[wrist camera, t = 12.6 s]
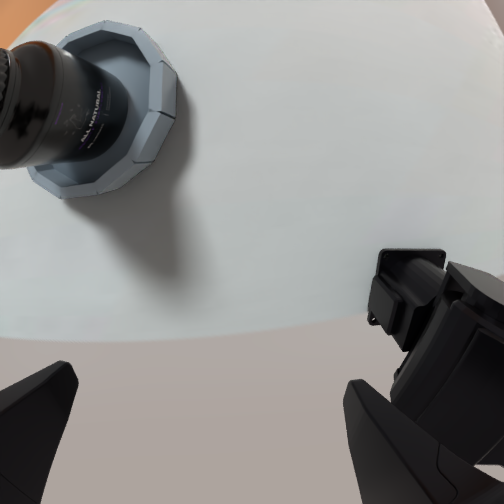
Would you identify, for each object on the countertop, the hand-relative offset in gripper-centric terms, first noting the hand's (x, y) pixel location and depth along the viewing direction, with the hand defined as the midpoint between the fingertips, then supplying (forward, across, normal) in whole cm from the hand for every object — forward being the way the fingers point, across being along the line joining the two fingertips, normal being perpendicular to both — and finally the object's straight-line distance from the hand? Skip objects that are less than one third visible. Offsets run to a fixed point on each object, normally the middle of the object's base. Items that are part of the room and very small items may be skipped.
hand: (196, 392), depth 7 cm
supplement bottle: (+12, +10, -10) cm, 19 cm away
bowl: (+13, +10, -11) cm, 20 cm away
